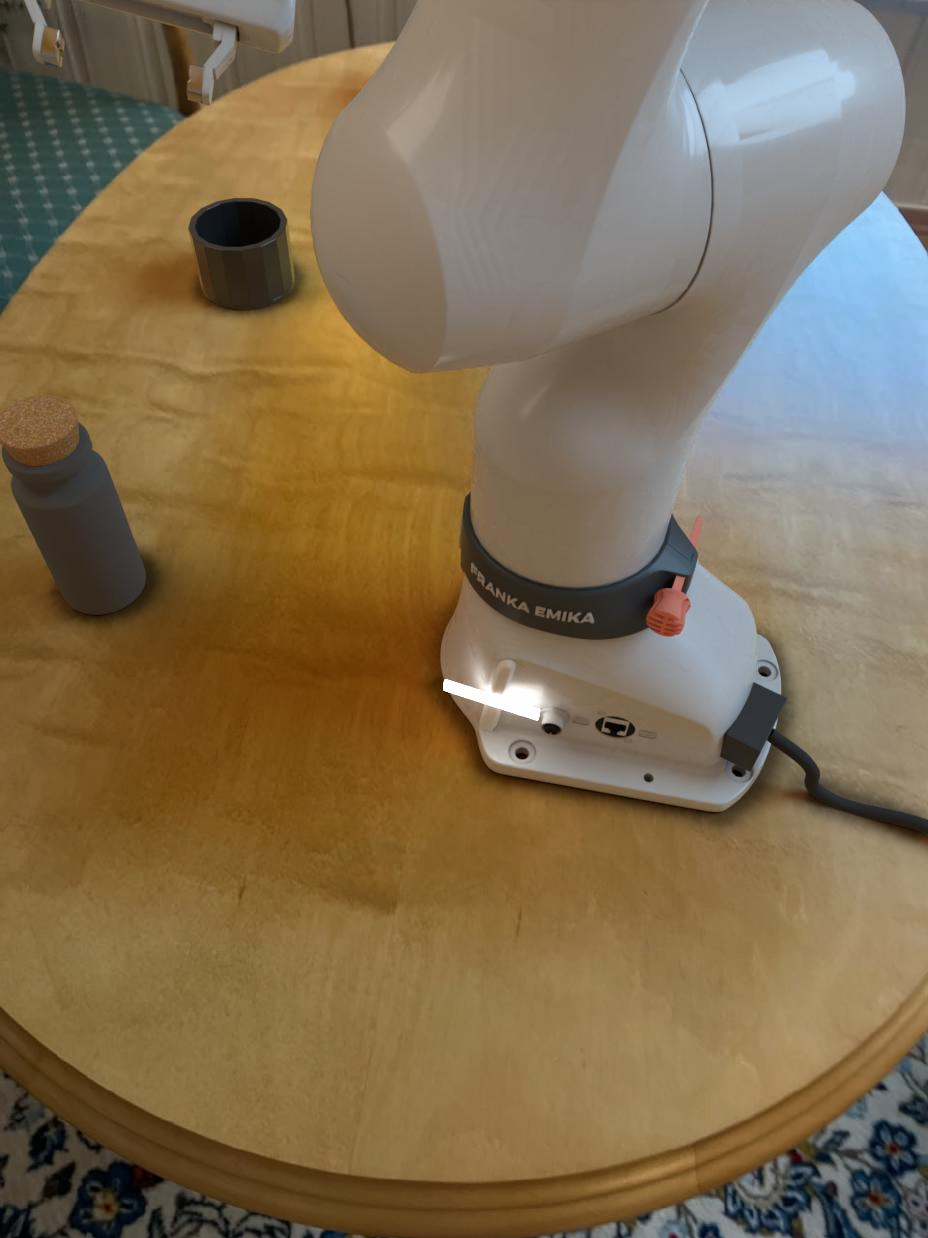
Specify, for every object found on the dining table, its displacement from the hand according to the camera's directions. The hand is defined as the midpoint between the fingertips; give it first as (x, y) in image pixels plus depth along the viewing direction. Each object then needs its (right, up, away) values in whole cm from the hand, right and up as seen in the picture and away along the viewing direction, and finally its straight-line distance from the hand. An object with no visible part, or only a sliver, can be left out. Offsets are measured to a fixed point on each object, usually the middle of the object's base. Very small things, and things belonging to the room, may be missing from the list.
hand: (123, 81), depth 63 cm
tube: (+2, -3, +28) cm, 29 cm away
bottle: (-3, -32, +6) cm, 33 cm away
